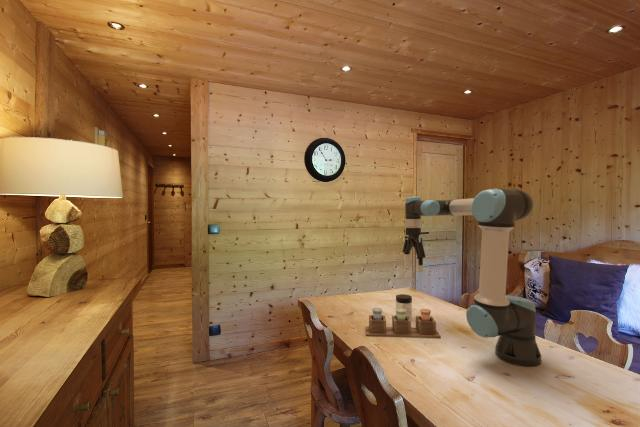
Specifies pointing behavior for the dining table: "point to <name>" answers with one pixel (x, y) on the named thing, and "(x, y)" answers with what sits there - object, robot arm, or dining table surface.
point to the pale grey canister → (377, 313)
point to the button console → (402, 328)
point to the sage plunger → (401, 314)
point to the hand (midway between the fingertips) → (413, 269)
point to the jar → (404, 304)
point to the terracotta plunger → (425, 314)
